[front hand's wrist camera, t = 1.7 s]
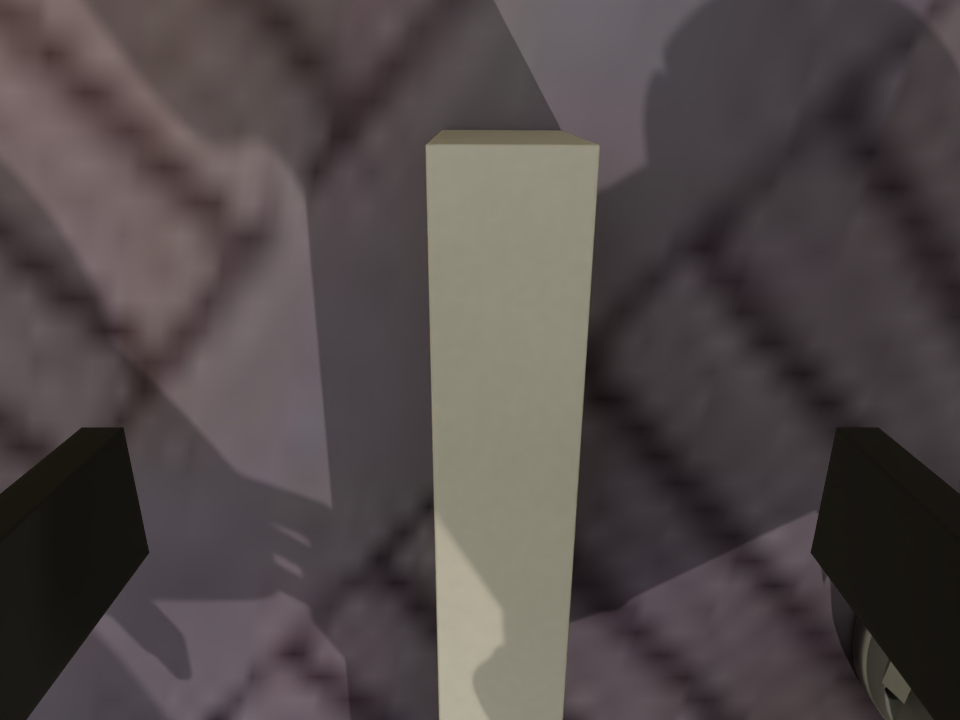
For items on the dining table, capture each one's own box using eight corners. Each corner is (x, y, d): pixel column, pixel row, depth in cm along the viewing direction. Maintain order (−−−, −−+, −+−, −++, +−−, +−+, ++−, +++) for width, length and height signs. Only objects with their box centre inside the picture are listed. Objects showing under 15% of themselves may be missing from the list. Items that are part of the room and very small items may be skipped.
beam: (441, 129, 26) (425, 144, 18) (562, 130, 26) (600, 144, 18) (453, 949, 44) (448, 1139, 36) (525, 949, 44) (536, 1138, 36)
